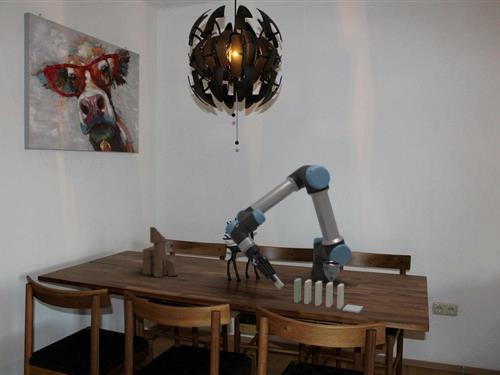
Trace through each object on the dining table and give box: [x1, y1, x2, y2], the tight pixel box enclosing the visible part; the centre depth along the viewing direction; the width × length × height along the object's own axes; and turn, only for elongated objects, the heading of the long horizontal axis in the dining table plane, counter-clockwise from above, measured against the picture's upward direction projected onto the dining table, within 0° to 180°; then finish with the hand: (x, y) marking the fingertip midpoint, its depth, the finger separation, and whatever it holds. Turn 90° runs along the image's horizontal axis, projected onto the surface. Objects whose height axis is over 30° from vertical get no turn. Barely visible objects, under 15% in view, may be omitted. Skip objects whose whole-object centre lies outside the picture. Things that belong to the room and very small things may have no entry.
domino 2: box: [303, 279, 313, 305], centre depth 208 cm, size 2×5×10 cm, turn 154°
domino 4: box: [325, 281, 334, 308], centre depth 203 cm, size 2×5×10 cm, turn 154°
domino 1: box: [293, 277, 302, 304], centre depth 210 cm, size 2×5×10 cm, turn 154°
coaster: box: [342, 303, 364, 314], centre depth 199 cm, size 8×7×1 cm
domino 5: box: [336, 282, 345, 310], centre depth 201 cm, size 2×5×10 cm, turn 154°
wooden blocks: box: [142, 226, 180, 278], centre depth 261 cm, size 24×20×28 cm
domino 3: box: [314, 281, 323, 307], centre depth 206 cm, size 2×5×10 cm, turn 154°
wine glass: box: [323, 261, 341, 296], centre depth 224 cm, size 8×8×15 cm
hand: (281, 287), depth 213 cm, fingers closed
